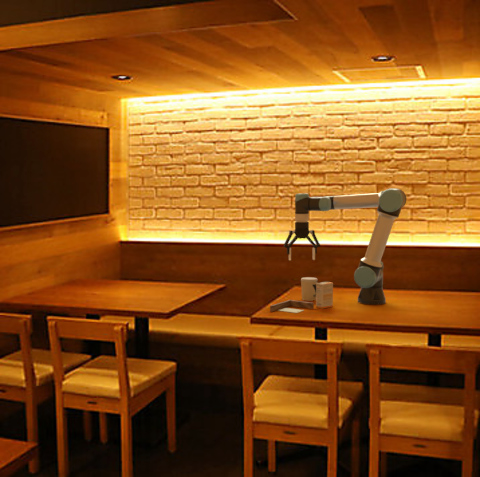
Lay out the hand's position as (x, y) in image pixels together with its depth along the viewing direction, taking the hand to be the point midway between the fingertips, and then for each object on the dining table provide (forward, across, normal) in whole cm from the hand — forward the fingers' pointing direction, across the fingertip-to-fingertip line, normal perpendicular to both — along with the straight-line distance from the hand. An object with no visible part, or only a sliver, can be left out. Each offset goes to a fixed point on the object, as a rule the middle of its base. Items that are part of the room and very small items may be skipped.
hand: (301, 260), depth 377 cm
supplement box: (+23, -8, +18) cm, 31 cm away
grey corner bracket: (+23, +11, +24) cm, 35 cm away
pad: (+23, +12, +26) cm, 37 cm away
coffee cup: (+23, -5, -4) cm, 24 cm away
